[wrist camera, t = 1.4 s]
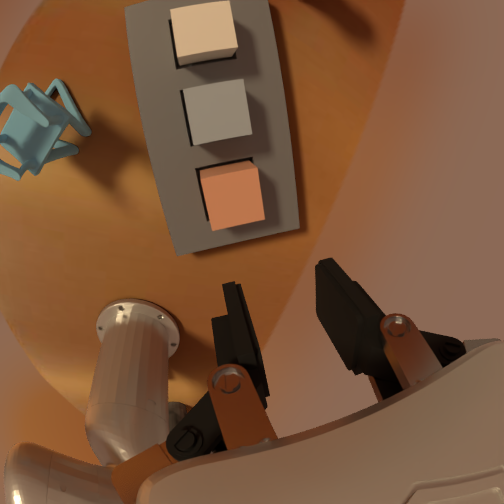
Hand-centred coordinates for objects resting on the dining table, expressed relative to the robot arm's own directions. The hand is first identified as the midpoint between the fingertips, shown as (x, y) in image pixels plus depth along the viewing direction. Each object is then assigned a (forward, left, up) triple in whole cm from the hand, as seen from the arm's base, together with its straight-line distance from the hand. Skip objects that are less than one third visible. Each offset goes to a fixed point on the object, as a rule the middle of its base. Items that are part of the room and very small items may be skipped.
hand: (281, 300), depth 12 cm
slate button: (+8, 0, -19) cm, 20 cm away
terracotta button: (0, 0, -19) cm, 19 cm away
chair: (+12, +17, -21) cm, 30 cm away
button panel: (+8, 0, -21) cm, 23 cm away
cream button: (+16, 0, -19) cm, 25 cm away
